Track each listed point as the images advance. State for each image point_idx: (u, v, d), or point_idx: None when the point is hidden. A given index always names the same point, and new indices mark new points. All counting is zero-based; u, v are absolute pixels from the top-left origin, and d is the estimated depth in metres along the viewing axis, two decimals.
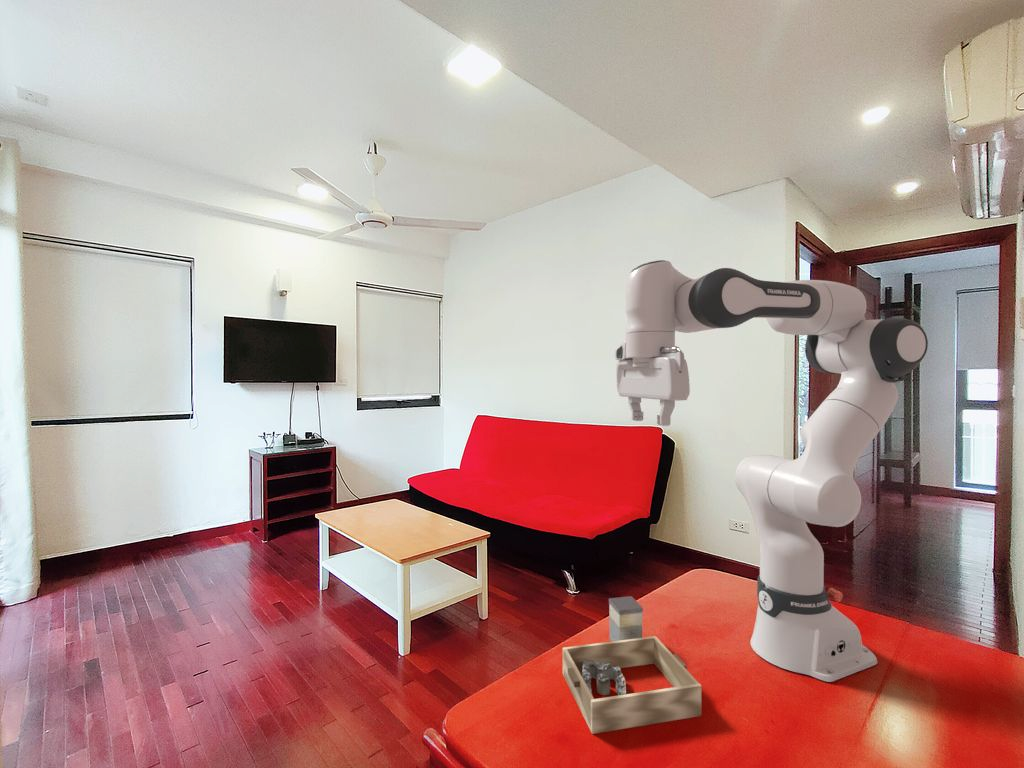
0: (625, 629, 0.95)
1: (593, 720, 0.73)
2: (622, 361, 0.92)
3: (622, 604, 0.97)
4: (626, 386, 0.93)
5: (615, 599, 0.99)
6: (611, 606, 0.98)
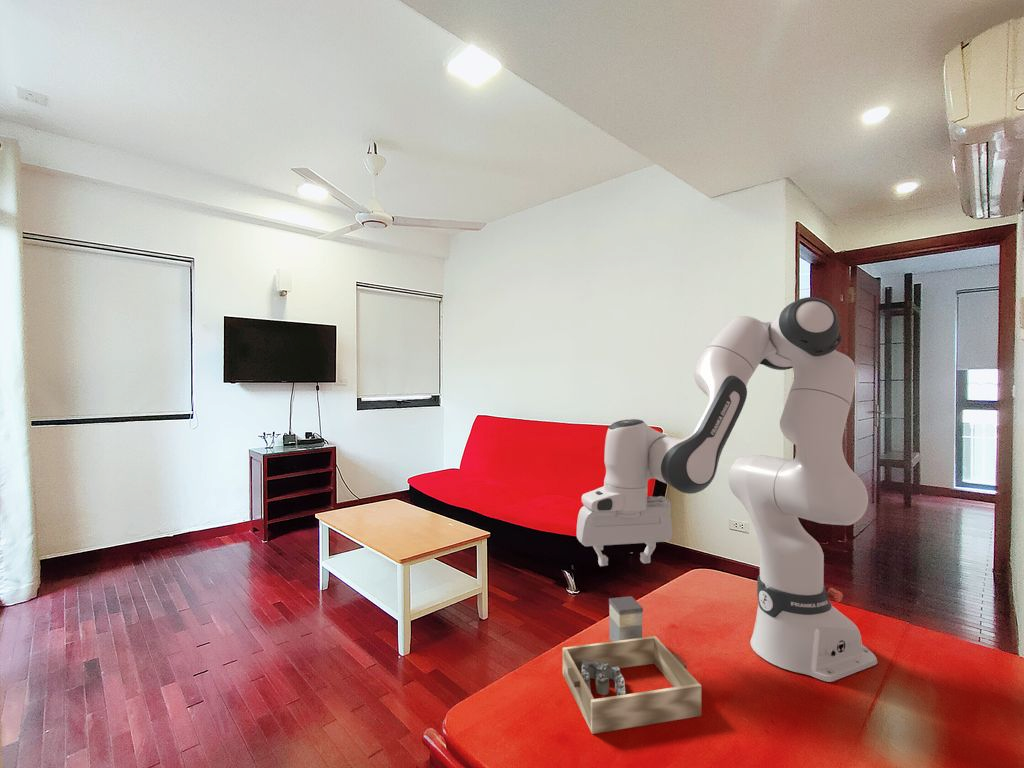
0: (625, 629, 0.95)
1: (593, 720, 0.73)
2: (604, 512, 0.93)
3: (622, 604, 0.97)
4: (601, 535, 0.94)
5: (615, 599, 0.99)
6: (611, 606, 0.98)
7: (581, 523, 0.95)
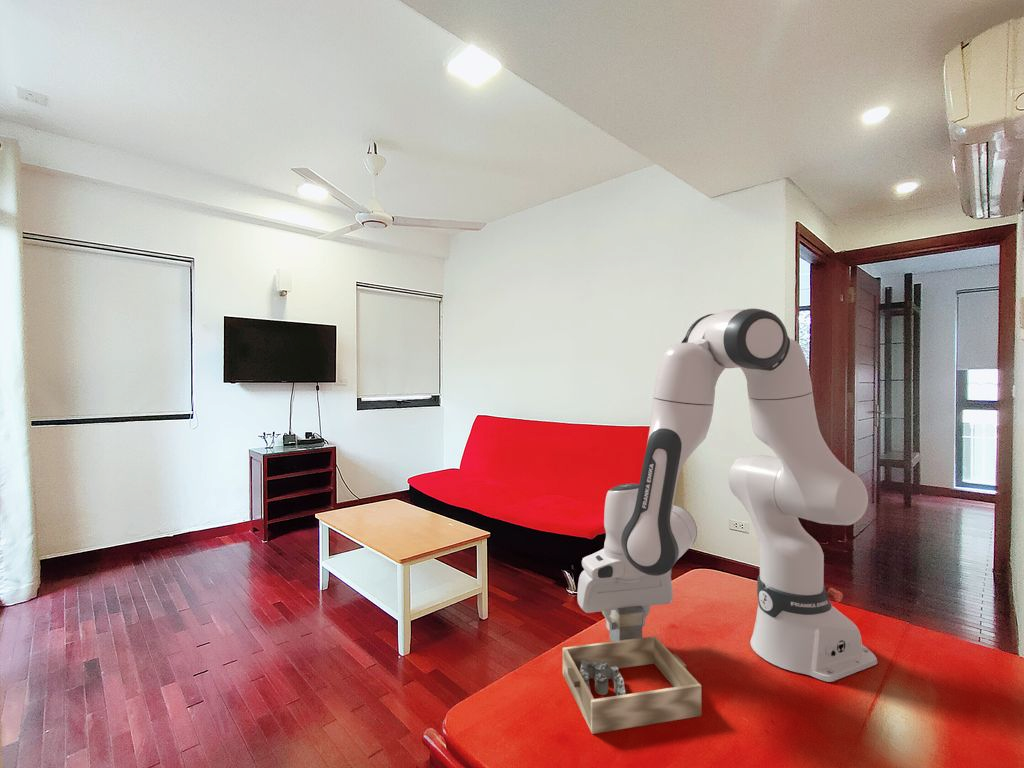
0: (625, 628, 0.95)
1: (593, 720, 0.73)
2: (604, 579, 0.93)
3: None
4: (602, 601, 0.94)
5: None
6: None
7: (582, 589, 0.95)
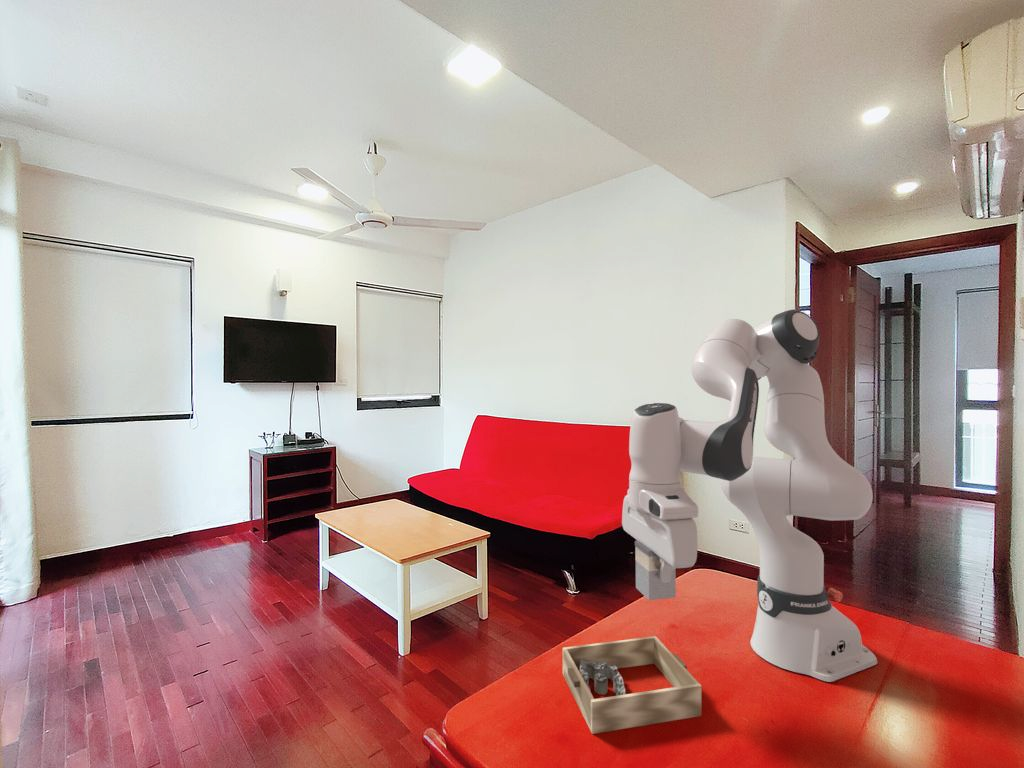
0: None
1: (593, 720, 0.73)
2: None
3: None
4: None
5: (648, 548, 0.81)
6: (655, 557, 0.80)
7: (689, 540, 0.73)
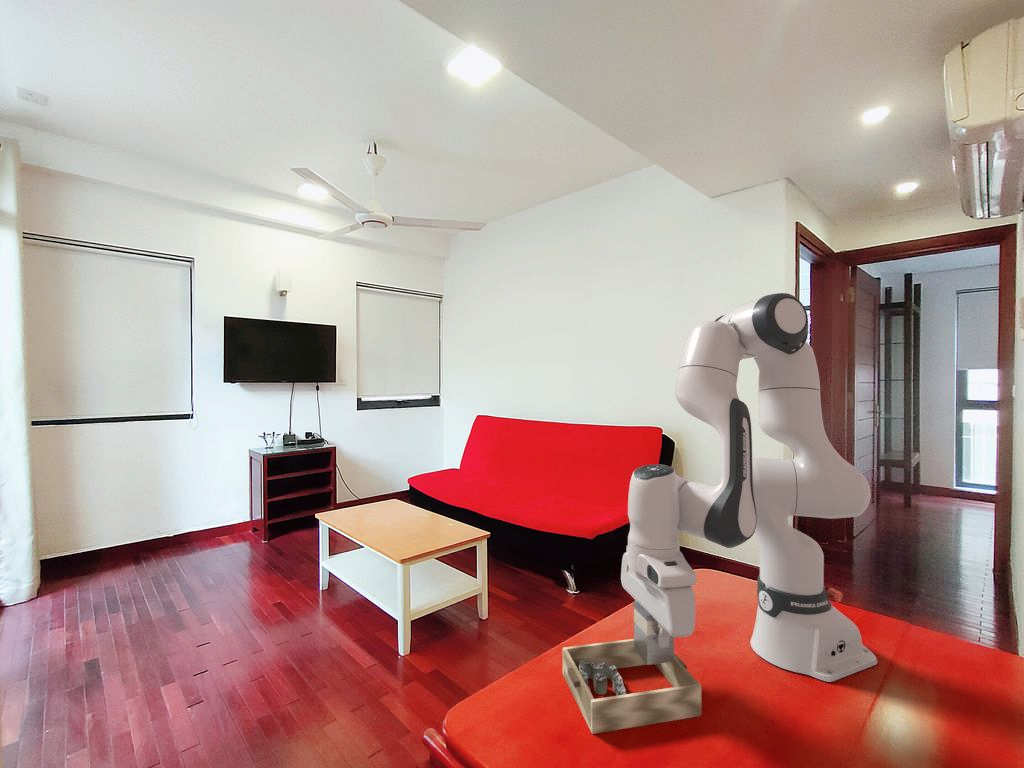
0: None
1: (593, 720, 0.73)
2: None
3: None
4: None
5: (647, 611, 0.81)
6: (653, 621, 0.80)
7: (687, 609, 0.74)
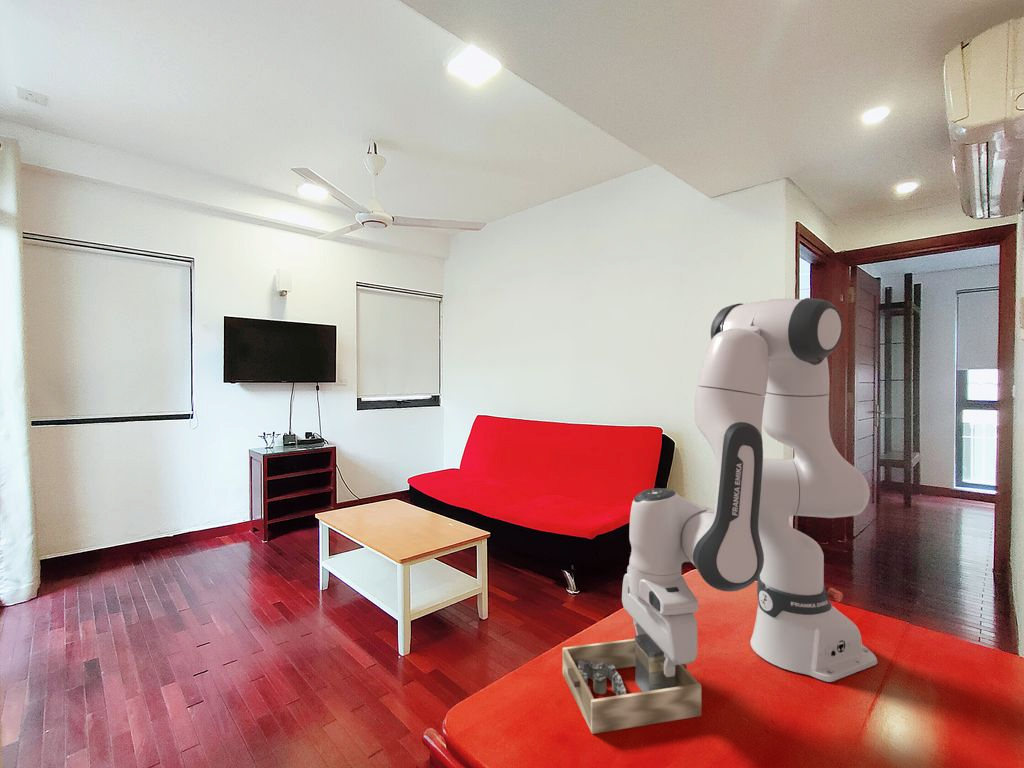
0: None
1: (593, 720, 0.73)
2: None
3: None
4: None
5: (649, 648, 0.81)
6: (655, 657, 0.80)
7: (689, 637, 0.73)
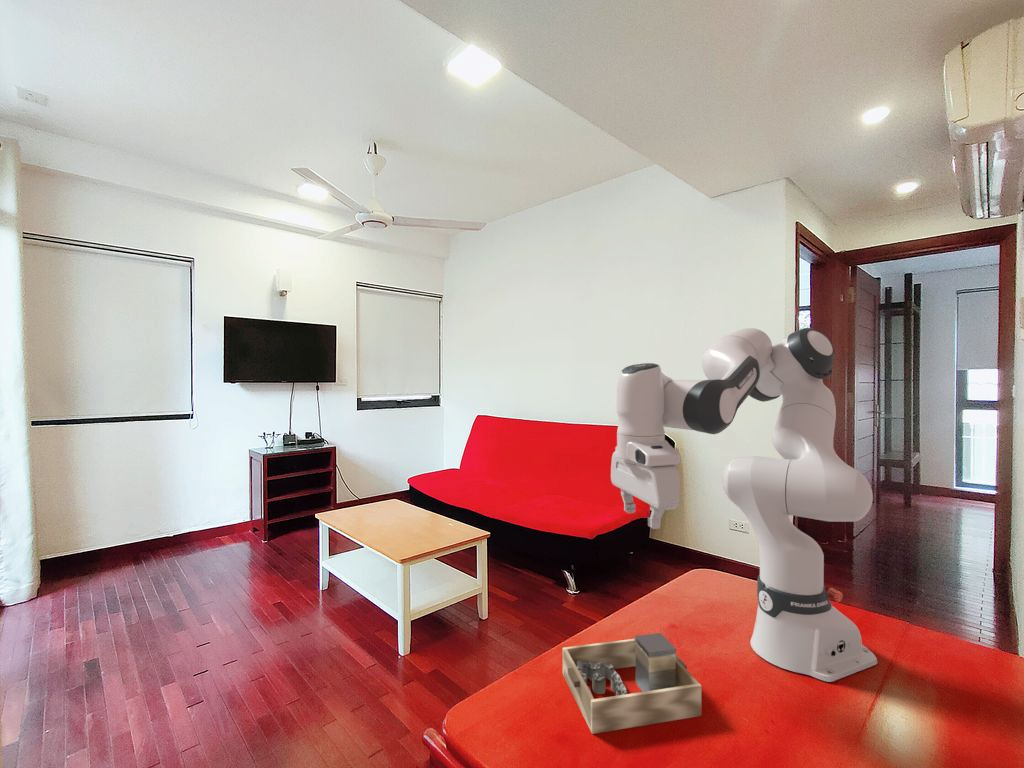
0: None
1: (593, 720, 0.73)
2: None
3: (659, 644, 0.82)
4: None
5: (649, 648, 0.81)
6: (655, 657, 0.80)
7: (672, 484, 0.80)
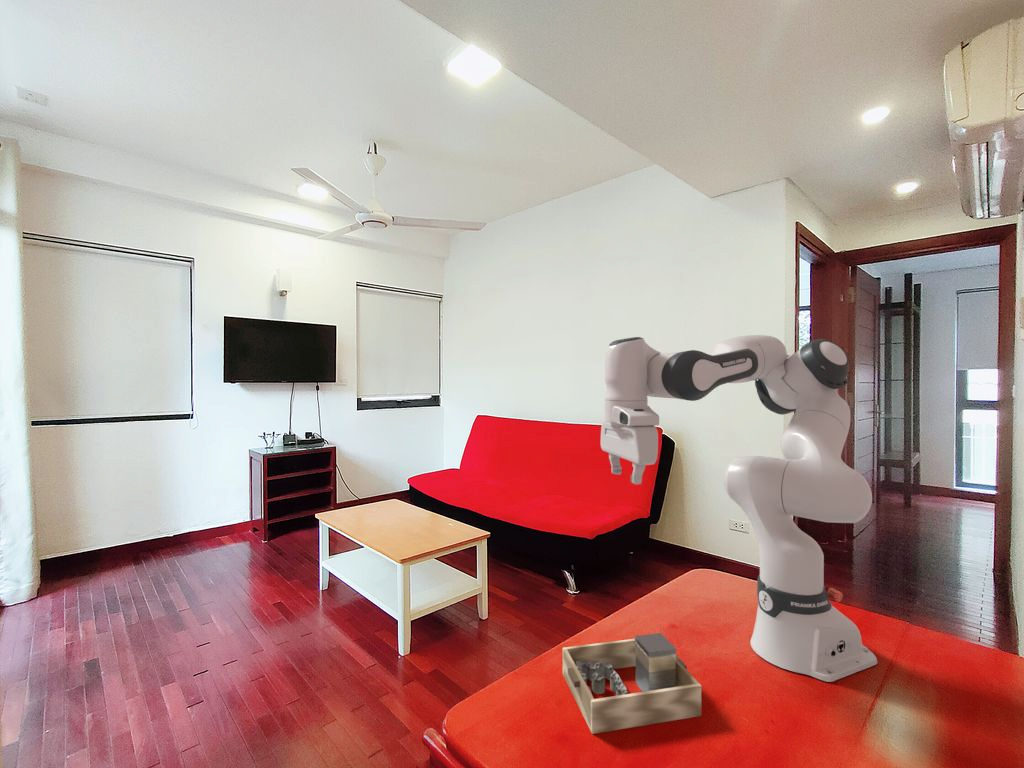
0: None
1: (593, 720, 0.73)
2: None
3: (659, 644, 0.82)
4: None
5: (649, 648, 0.81)
6: (655, 657, 0.80)
7: (651, 441, 0.90)
